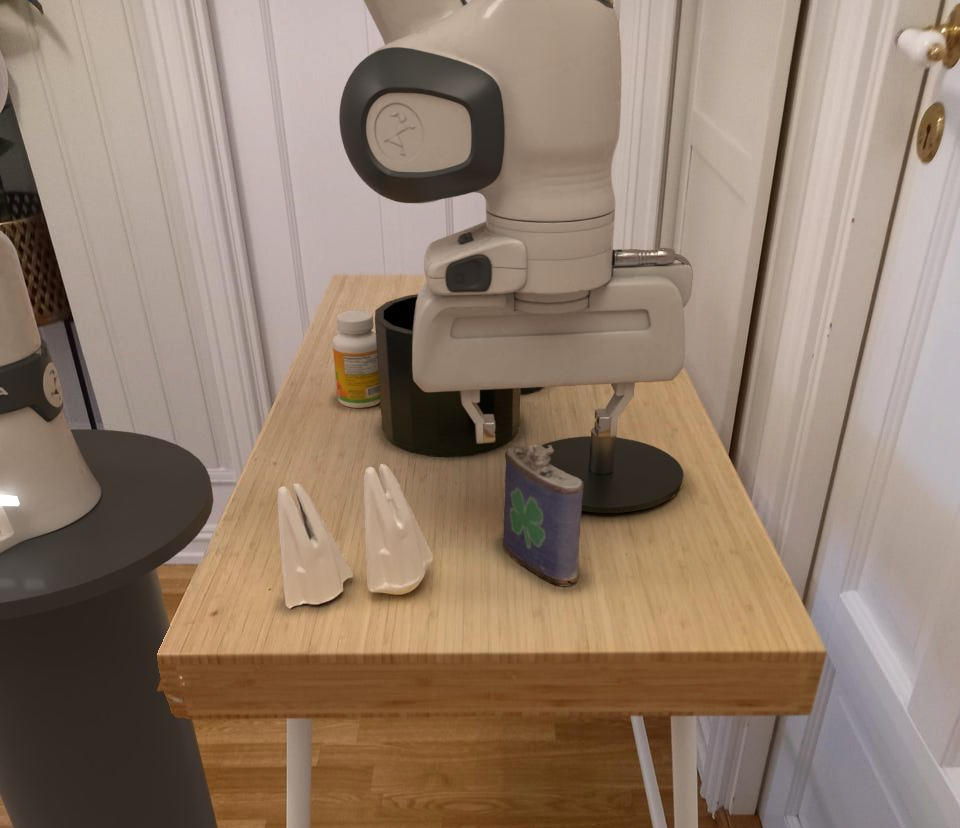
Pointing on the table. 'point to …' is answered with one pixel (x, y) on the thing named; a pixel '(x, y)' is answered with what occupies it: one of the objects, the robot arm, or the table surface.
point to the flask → (542, 514)
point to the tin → (430, 397)
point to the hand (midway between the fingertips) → (545, 437)
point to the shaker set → (321, 565)
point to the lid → (617, 472)
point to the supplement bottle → (356, 360)
